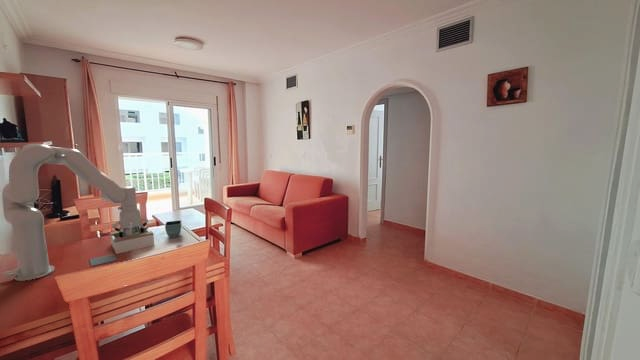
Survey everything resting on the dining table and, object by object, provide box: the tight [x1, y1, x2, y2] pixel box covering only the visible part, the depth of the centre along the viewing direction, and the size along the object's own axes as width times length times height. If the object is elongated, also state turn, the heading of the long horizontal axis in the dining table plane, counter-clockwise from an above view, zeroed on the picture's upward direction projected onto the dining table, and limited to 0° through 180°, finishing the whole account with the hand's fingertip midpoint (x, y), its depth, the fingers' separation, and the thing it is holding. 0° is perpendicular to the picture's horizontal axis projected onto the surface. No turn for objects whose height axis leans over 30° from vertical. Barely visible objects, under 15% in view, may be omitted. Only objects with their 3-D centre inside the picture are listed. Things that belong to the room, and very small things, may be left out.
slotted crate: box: [109, 225, 155, 255], centre depth 156 cm, size 18×18×8 cm
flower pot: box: [164, 219, 182, 239], centre depth 171 cm, size 9×9×9 cm
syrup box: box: [123, 222, 140, 237], centre depth 156 cm, size 6×6×14 cm
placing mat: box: [89, 253, 118, 267], centre depth 136 cm, size 10×10×1 cm
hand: (132, 236), depth 156 cm, fingers open, 9 cm apart
